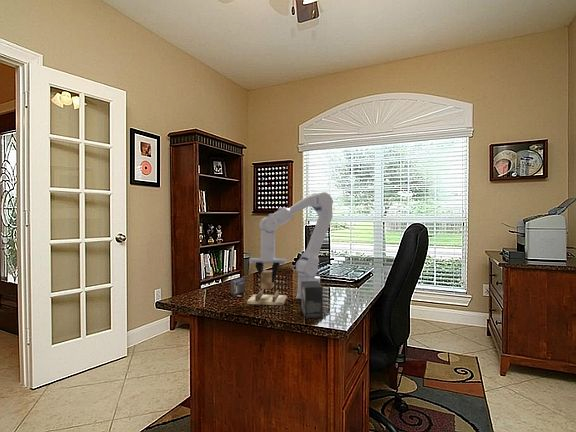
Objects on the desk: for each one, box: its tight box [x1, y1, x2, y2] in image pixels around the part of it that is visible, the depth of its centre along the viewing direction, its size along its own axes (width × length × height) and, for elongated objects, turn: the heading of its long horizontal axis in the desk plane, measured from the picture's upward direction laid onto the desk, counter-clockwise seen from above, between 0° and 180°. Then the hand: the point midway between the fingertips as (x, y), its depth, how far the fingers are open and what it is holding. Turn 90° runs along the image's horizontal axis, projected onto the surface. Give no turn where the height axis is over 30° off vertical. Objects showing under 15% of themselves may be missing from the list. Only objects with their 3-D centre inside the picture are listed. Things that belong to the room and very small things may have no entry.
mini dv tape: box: [230, 277, 246, 296], centre depth 150 cm, size 8×2×6 cm, turn 152°
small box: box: [300, 281, 324, 319], centre depth 119 cm, size 11×6×10 cm, turn 5°
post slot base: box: [246, 290, 288, 306], centre depth 137 cm, size 14×12×3 cm
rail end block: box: [260, 269, 275, 290], centre depth 137 cm, size 4×8×6 cm, turn 174°
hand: (267, 281), depth 137 cm, fingers closed on rail end block, 4 cm apart
